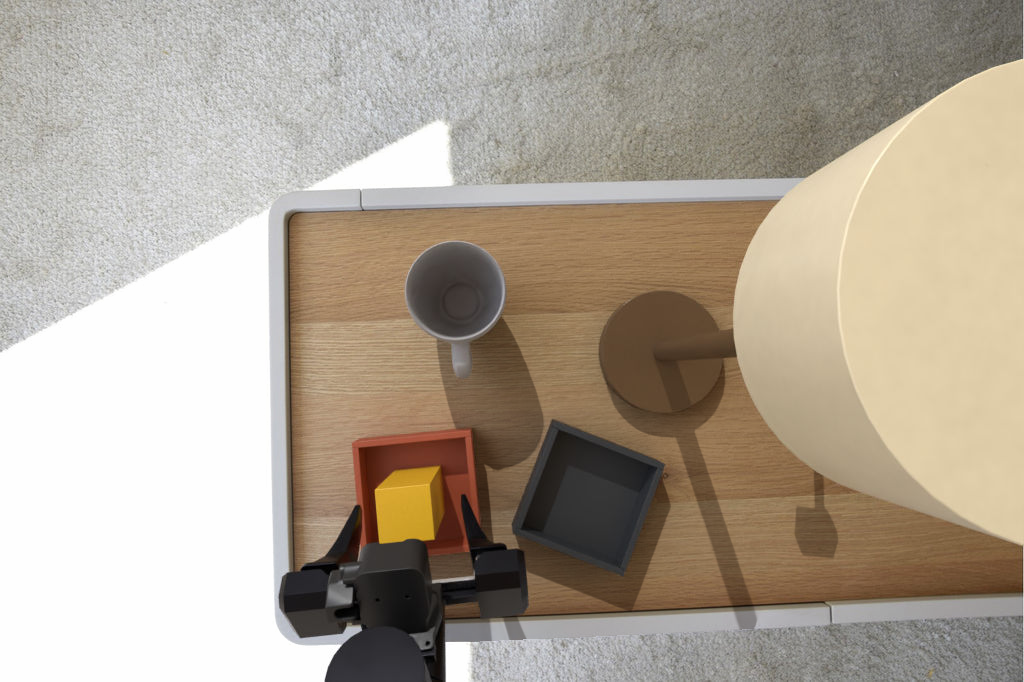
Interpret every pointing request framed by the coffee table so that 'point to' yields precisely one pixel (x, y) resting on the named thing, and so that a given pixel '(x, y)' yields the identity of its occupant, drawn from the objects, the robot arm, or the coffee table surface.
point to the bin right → (587, 497)
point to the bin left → (411, 451)
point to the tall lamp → (876, 315)
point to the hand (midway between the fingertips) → (411, 502)
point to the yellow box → (410, 504)
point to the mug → (456, 296)
